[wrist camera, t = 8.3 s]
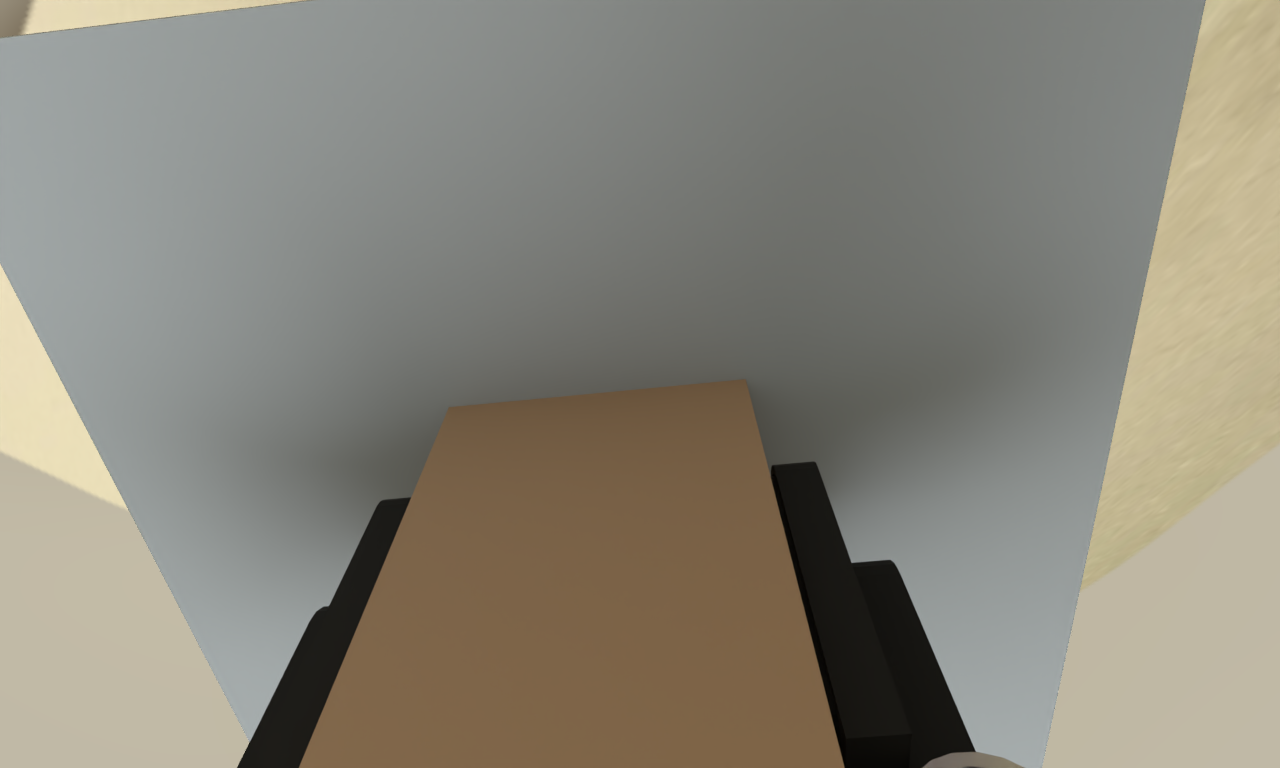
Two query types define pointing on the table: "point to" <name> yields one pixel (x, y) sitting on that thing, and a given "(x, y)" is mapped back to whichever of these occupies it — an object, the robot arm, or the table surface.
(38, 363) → the table surface
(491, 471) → the cover
